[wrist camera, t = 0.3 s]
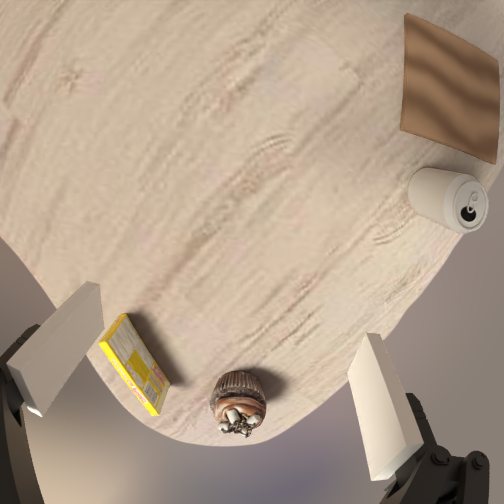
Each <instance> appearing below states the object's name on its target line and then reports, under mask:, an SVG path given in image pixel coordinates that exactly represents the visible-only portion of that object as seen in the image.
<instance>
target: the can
mask: <svg viewBox="0 0 504 504" xmlns="http://www.w3.org/2000/svg"><path fill="white" fill-rule="evenodd" d="M408 199H409V203H410V205H411V207H412V209H413V210H414V211H415V212H416V213H417V214H418V215H420V216H422V217H425V218H427V219H429V220H431V221H433V222H435V223H438V224H440V225H442V226H444V227H446V228H448V229H450V230H452V231H454V232H456V233H458V234H465V233H468V232H473V231H475V230H477V229H478V228H479V227H480V226H481V225H482V224H483V222H484V221H485V219H486V216H487V213H488V205H489V202H488V196H487V193H486V190H485V188H484V187H483V185H482V184H480V183H479V181H478V180H477V179H476V178H475V177H473V176H472V175H469V174H463V173H458V172H453V171H447V170H441V169H435V168H427V167H426V168H422V169H420V170H418V171H417V172H416V173H415V174H414V175H413V177H412V178H411V180H410V183H409V186H408Z"/></svg>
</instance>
